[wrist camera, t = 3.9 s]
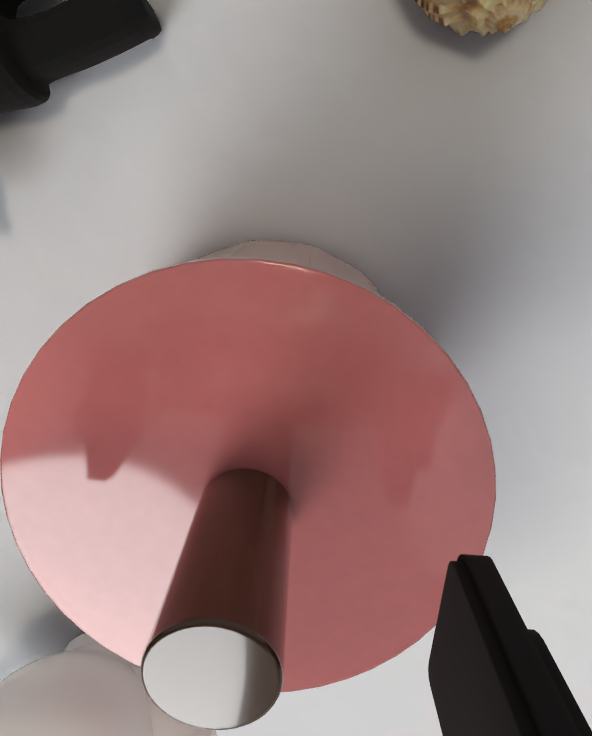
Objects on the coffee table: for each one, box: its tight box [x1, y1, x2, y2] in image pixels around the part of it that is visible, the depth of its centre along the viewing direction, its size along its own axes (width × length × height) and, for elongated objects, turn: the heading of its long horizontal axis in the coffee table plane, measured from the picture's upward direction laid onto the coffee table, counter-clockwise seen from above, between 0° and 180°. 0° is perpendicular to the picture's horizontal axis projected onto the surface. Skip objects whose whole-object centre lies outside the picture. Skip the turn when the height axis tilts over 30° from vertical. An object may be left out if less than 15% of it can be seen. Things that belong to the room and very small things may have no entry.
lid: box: [0, 256, 496, 730], centre depth 12 cm, size 13×13×6 cm
